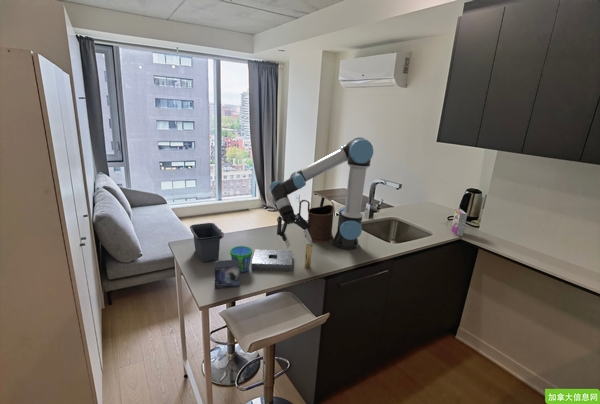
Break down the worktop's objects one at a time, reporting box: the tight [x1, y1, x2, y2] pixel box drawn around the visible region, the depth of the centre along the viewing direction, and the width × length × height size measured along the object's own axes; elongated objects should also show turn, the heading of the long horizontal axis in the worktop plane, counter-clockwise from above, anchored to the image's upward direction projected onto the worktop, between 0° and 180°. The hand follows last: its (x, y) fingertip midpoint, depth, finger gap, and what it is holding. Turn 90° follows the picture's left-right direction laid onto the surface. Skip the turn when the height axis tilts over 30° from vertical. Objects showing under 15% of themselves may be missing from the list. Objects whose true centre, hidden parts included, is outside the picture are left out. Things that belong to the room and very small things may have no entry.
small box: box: [214, 259, 240, 290], centre depth 134 cm, size 11×6×10 cm, turn 105°
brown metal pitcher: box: [298, 199, 335, 243], centre depth 192 cm, size 18×24×25 cm
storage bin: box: [189, 222, 225, 263], centre depth 160 cm, size 21×16×14 cm
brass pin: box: [304, 243, 313, 270], centre depth 154 cm, size 3×3×12 cm
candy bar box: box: [451, 208, 468, 237], centre depth 215 cm, size 11×5×16 cm, turn 171°
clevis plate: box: [250, 248, 293, 272], centre depth 157 cm, size 20×16×4 cm
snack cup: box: [229, 245, 253, 274], centre depth 148 cm, size 16×10×10 cm
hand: (299, 243), depth 156 cm, fingers open, 13 cm apart
